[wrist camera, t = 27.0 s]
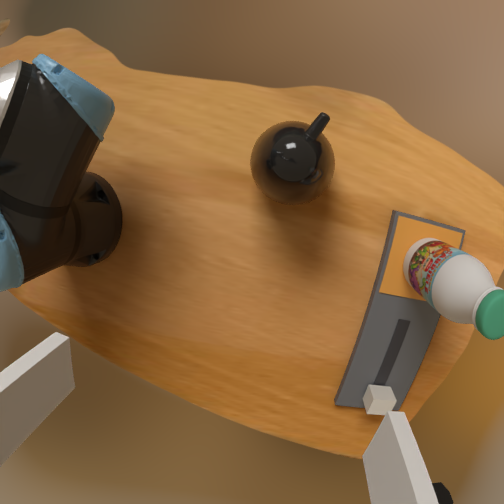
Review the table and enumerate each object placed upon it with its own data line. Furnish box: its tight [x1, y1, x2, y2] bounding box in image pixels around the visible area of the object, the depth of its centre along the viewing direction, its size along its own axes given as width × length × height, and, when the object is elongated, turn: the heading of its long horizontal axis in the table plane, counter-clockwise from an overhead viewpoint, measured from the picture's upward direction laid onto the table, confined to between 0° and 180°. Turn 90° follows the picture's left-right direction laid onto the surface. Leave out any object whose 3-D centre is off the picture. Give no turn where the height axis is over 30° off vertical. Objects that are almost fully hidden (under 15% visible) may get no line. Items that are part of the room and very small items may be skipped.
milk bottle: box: [403, 238, 504, 340], centre depth 32 cm, size 8×8×20 cm
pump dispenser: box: [250, 112, 335, 205], centre depth 35 cm, size 10×10×15 cm
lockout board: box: [334, 210, 465, 410], centre depth 44 cm, size 12×32×2 cm, turn 169°
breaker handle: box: [363, 384, 397, 415], centre depth 44 cm, size 4×3×4 cm
